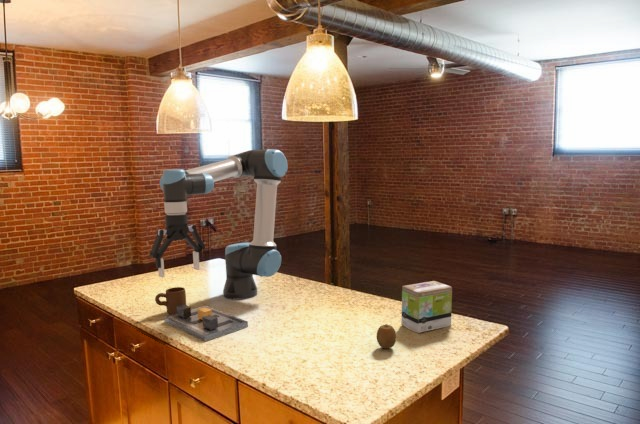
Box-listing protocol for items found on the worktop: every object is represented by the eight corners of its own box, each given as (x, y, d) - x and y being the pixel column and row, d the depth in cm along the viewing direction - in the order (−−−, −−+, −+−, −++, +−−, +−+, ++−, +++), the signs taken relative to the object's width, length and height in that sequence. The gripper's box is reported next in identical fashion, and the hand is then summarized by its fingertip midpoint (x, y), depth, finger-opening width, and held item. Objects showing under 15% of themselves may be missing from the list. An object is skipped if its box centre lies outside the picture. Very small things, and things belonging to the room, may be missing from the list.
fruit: (383, 354, 145) (382, 329, 144) (373, 346, 151) (372, 322, 150) (400, 350, 148) (400, 325, 147) (389, 343, 154) (389, 319, 153)
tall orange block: (204, 316, 177) (204, 307, 177) (212, 319, 174) (211, 309, 173) (197, 318, 175) (197, 309, 174) (205, 321, 171) (204, 311, 171)
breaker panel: (205, 310, 191) (205, 296, 190) (248, 326, 171) (247, 311, 170) (164, 322, 178) (163, 307, 177) (204, 341, 158) (203, 325, 158)
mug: (159, 319, 181) (158, 295, 180) (153, 314, 187) (151, 291, 186) (189, 312, 188) (188, 289, 187) (182, 308, 194) (181, 285, 193)
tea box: (418, 334, 160) (419, 292, 159) (400, 325, 169) (400, 285, 167) (452, 326, 167) (452, 285, 165) (433, 317, 176) (433, 279, 174)
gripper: (201, 209, 176) (204, 265, 179) (136, 216, 158) (140, 278, 161) (212, 210, 171) (215, 268, 173) (146, 218, 153) (151, 281, 156)
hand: (179, 273), depth 167 cm, fingers open, 13 cm apart
